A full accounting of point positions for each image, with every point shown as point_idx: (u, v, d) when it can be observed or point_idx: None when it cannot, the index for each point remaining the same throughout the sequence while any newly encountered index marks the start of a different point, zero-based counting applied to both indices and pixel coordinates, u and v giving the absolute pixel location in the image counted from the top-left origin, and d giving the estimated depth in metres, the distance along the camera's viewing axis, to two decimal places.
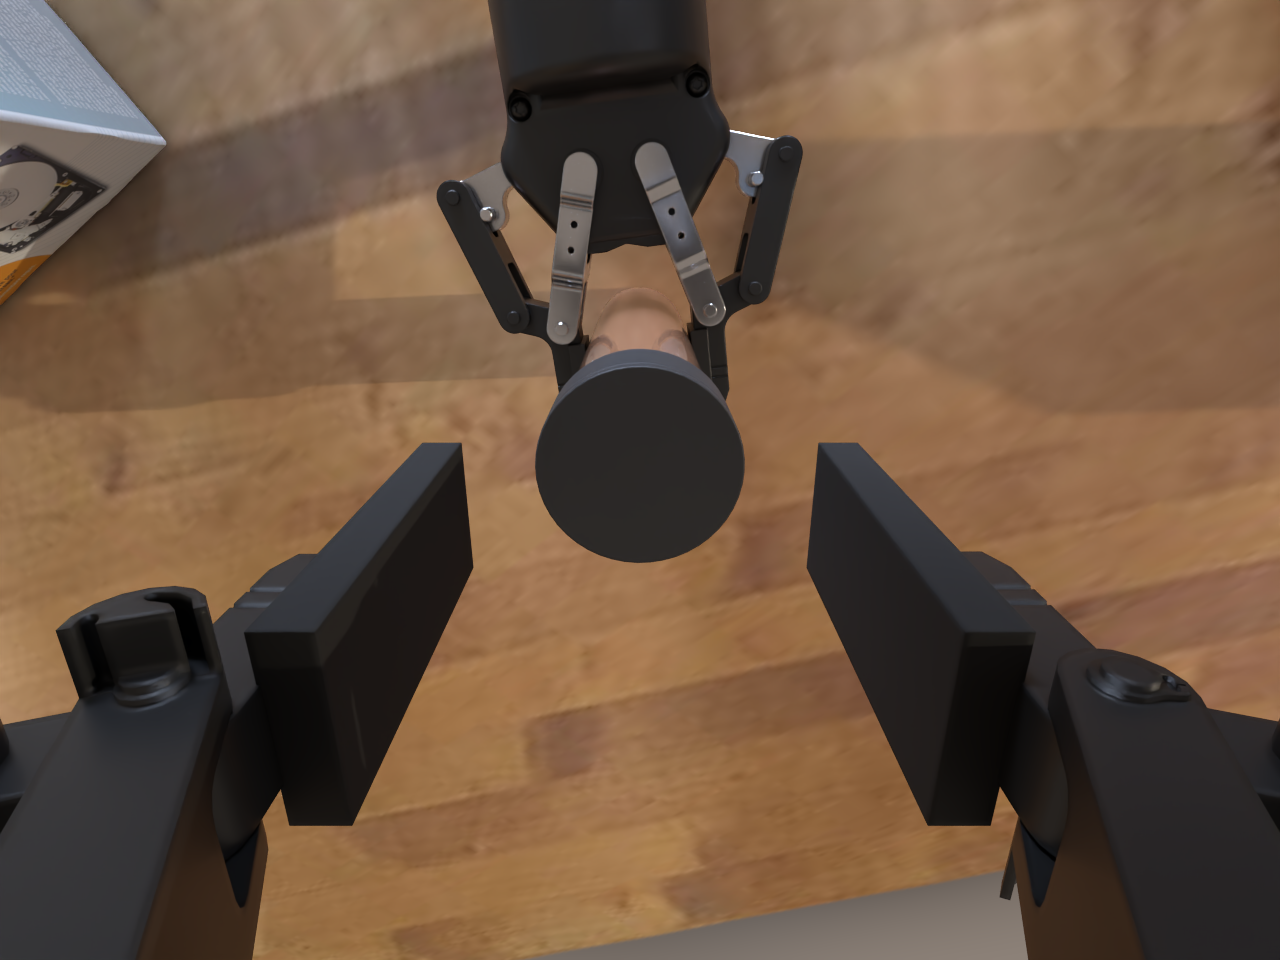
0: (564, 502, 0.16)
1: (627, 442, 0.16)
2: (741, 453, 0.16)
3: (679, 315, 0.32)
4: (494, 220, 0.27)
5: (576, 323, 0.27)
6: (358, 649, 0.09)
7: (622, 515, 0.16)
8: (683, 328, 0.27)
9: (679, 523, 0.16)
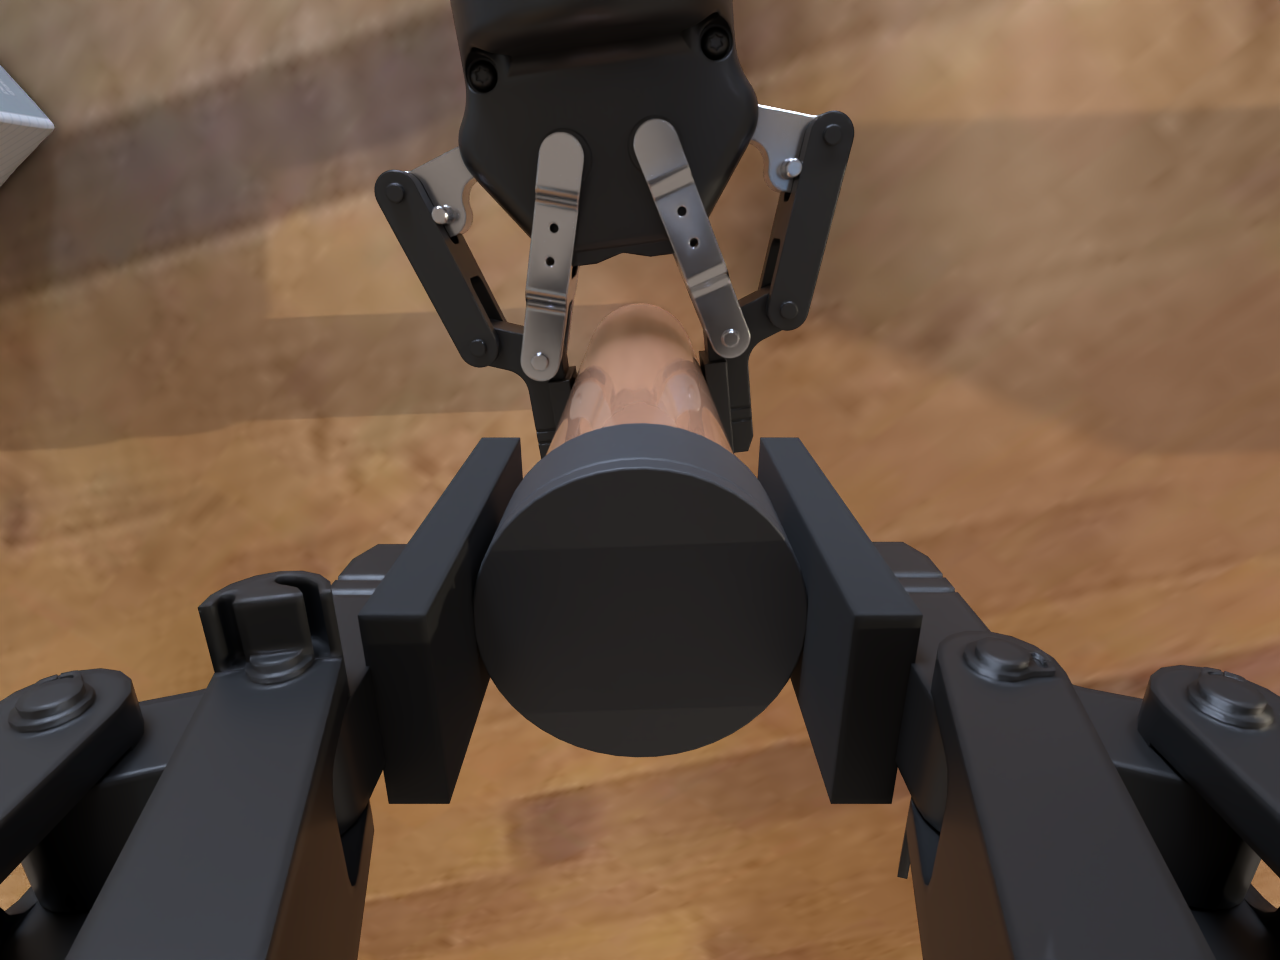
0: (520, 672, 0.10)
1: (620, 584, 0.10)
2: (804, 601, 0.10)
3: (688, 339, 0.26)
4: (452, 222, 0.21)
5: (558, 354, 0.21)
6: (453, 634, 0.09)
7: (613, 690, 0.10)
8: (695, 360, 0.21)
9: (702, 702, 0.10)
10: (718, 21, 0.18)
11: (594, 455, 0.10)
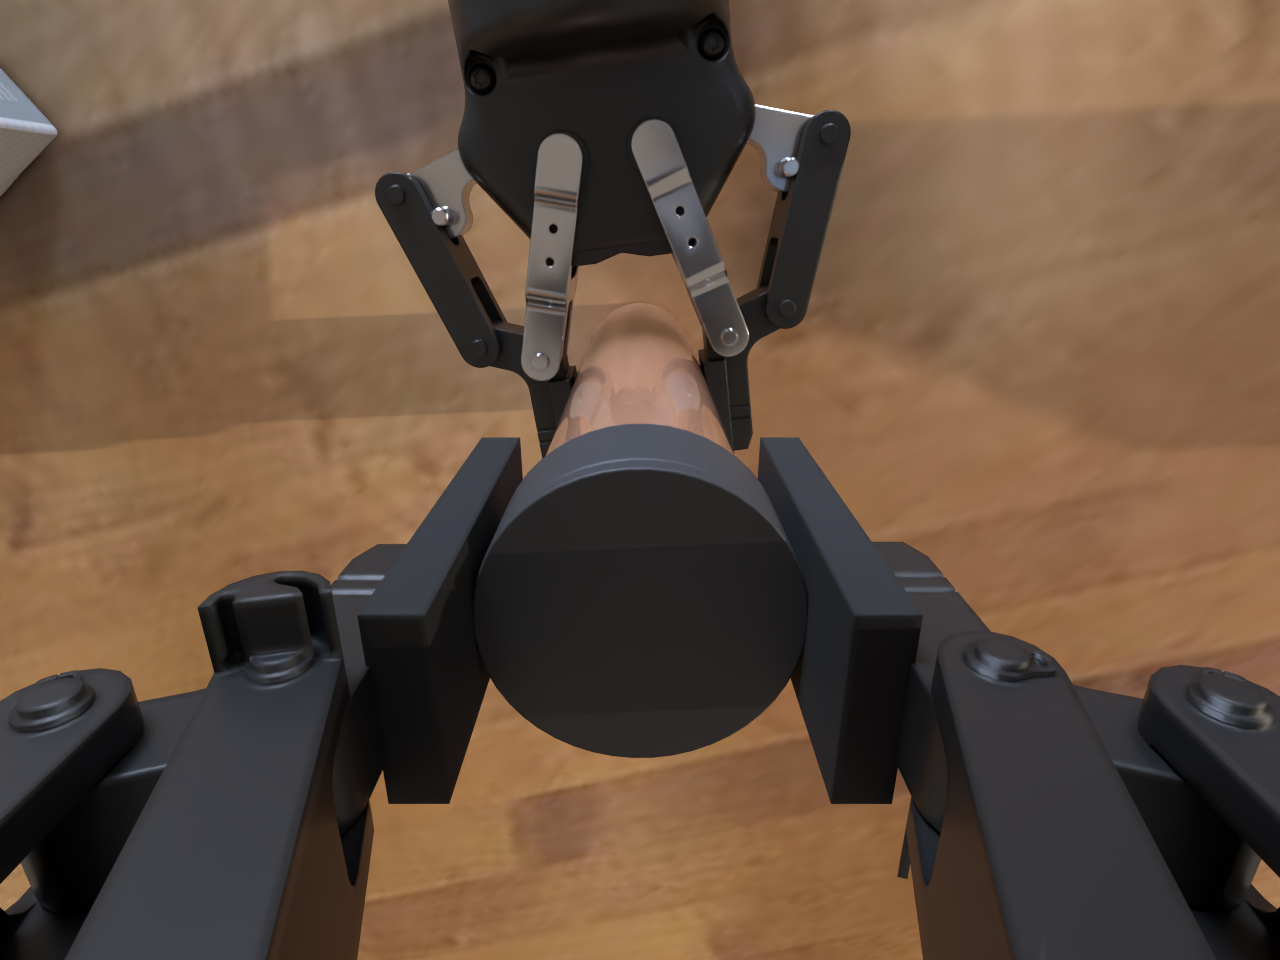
0: (732, 703, 0.10)
1: (604, 655, 0.10)
2: (549, 496, 0.09)
3: (688, 338, 0.26)
4: (452, 224, 0.21)
5: (559, 354, 0.21)
6: (453, 634, 0.09)
7: (724, 624, 0.10)
8: (695, 359, 0.22)
9: (707, 540, 0.09)
10: (714, 22, 0.18)
11: None
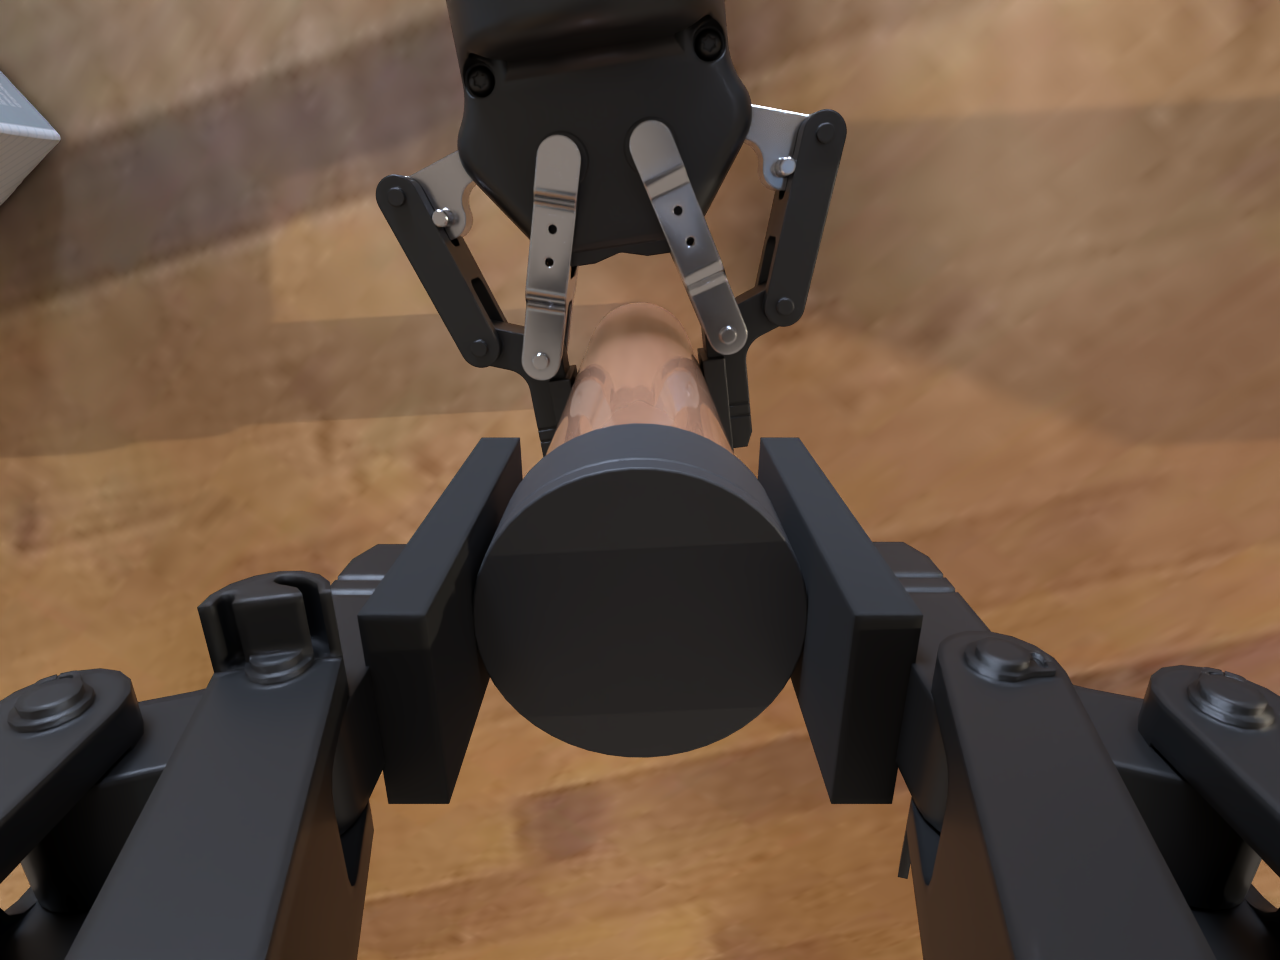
0: (697, 511, 0.09)
1: (685, 643, 0.10)
2: (545, 730, 0.11)
3: (687, 336, 0.26)
4: (452, 225, 0.21)
5: (559, 353, 0.22)
6: (452, 634, 0.09)
7: (607, 556, 0.10)
8: (694, 357, 0.22)
9: (527, 603, 0.10)
10: (711, 23, 0.18)
11: None
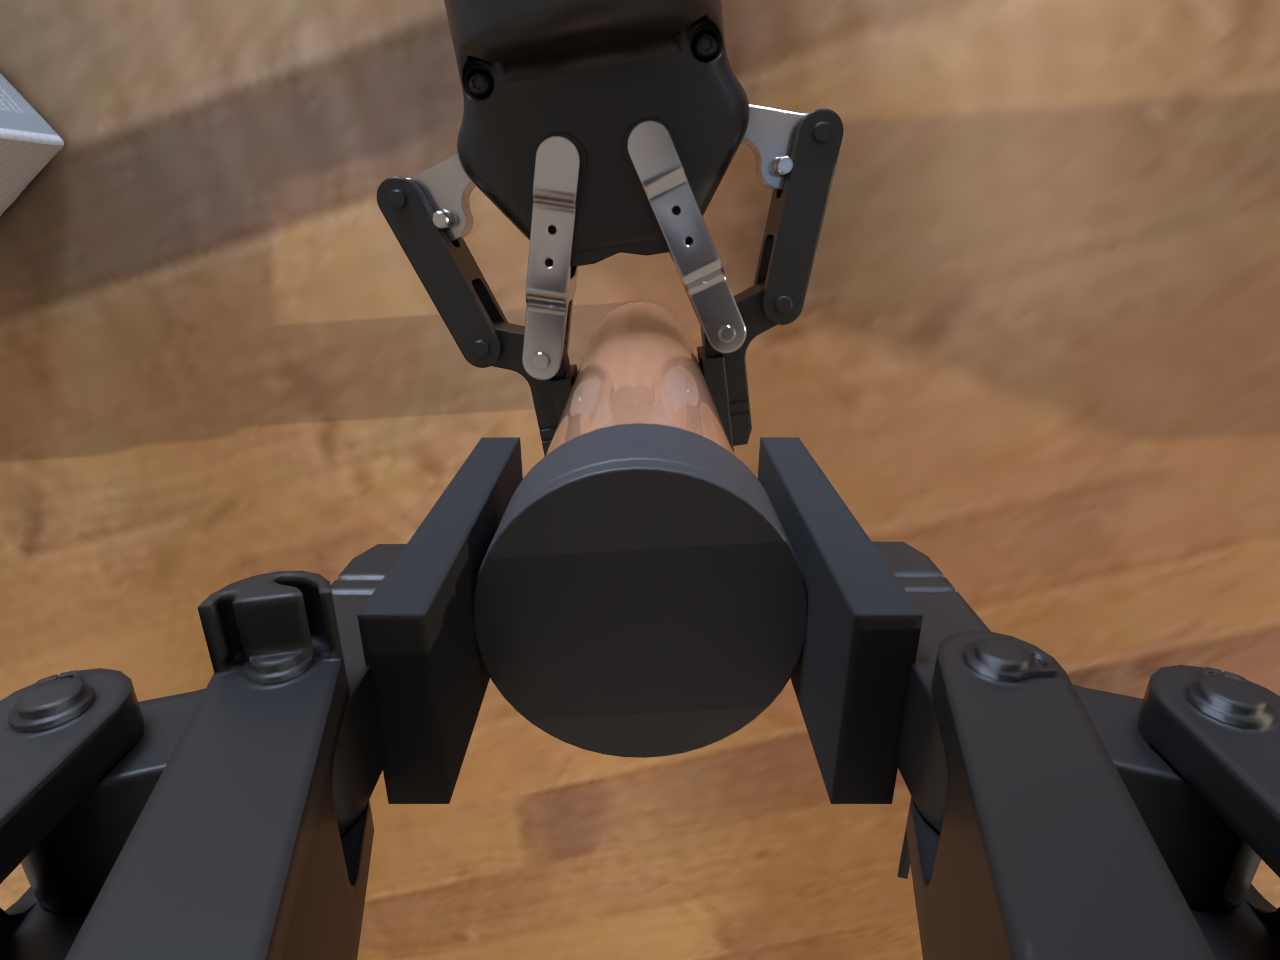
0: (504, 620, 0.10)
1: (644, 581, 0.10)
2: (793, 666, 0.10)
3: (687, 335, 0.27)
4: (452, 226, 0.21)
5: (559, 353, 0.22)
6: (453, 634, 0.09)
7: (581, 673, 0.10)
8: (693, 356, 0.22)
9: (655, 718, 0.11)
10: (707, 24, 0.19)
11: (674, 452, 0.10)
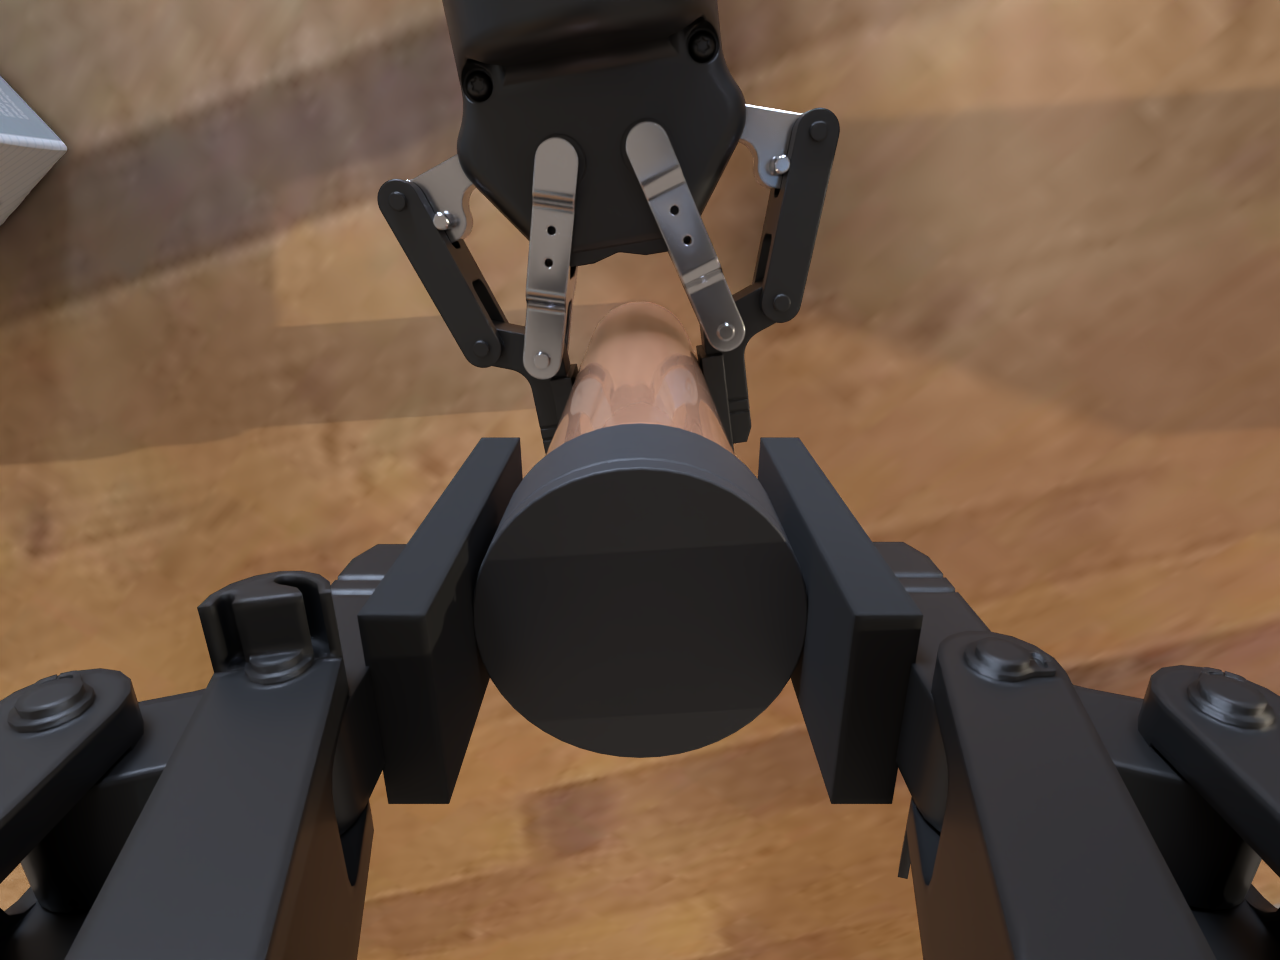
0: (680, 729, 0.11)
1: (592, 637, 0.10)
2: (628, 473, 0.09)
3: (686, 334, 0.27)
4: (453, 228, 0.21)
5: (559, 353, 0.22)
6: (452, 634, 0.09)
7: (713, 656, 0.10)
8: (693, 355, 0.22)
9: (743, 577, 0.10)
10: (704, 25, 0.19)
11: None
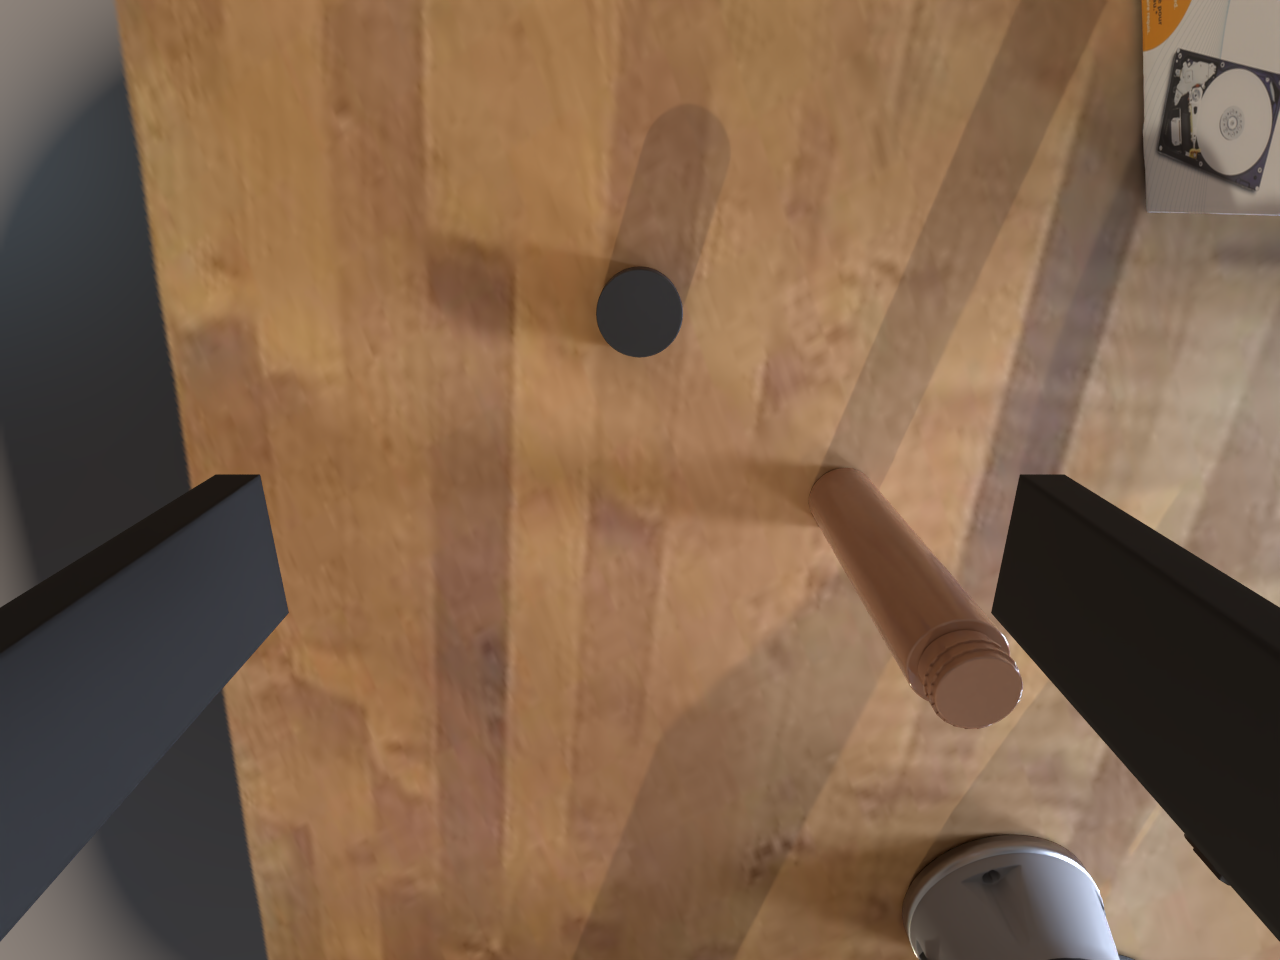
0: (650, 347, 0.39)
1: (627, 318, 0.39)
2: (636, 270, 0.38)
3: None
4: None
5: None
6: None
7: (658, 323, 0.39)
8: None
9: (665, 299, 0.38)
10: None
11: None
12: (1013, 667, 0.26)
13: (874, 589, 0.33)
